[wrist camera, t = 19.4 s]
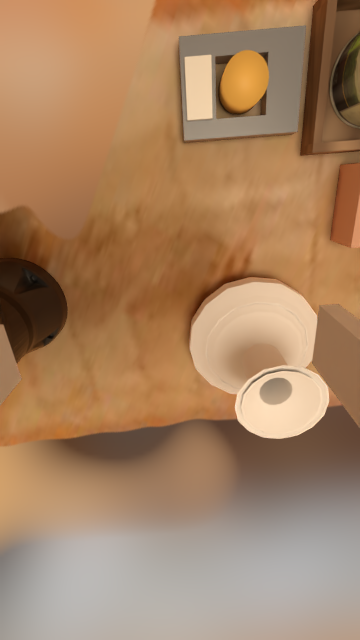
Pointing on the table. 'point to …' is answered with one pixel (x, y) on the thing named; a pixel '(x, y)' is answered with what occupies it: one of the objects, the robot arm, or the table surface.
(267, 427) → the candle holder
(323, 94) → the dark wooden tray
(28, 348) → the robot arm
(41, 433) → the table surface
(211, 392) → the table surface
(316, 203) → the table surface
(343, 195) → the terracotta square planter
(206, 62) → the base
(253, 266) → the table surface
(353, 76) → the coffee can
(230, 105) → the button
